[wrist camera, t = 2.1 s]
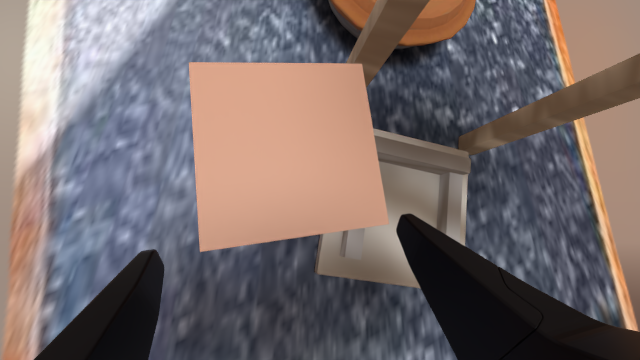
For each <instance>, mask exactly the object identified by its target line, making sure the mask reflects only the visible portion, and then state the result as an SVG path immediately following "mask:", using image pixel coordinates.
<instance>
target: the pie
mask: <svg viewBox="0 0 640 360" xmlns="http://www.w3.org/2000/svg"><path fill="white" fill-rule="evenodd" d="M328 1H329V4H330V7H331V9H332V12H333V13H334V14H335V16H336V17H337V19H338V20H339V22H340V23H341V25H342V26H343V27H344V28H346V29H347V30H348V31H349V32H350V33H351V34H352V35H354V36H355V37H356V38H359V36H360V34H361V32H362V30H363V28H364V26H365V24H366V22H367V19H368V17H369V15H370V13H371V11H372V9H373V7H374V5H375V3H376V1H377V0H328ZM475 1H476V0H430V1H429V2H428V3H427V5H426V6H425V8H424V9H423V10H422V12H421V13H420V14H419V16H418V17H417V19H416V20H415V21H414V23H413V24H412V25H411V27H410V28H409V30H408V31H407V32H406V34H405V35H404V36H403V38H402V39H401V41H400V42H399V43H398V45H397V46H396V47H395V49H404V48H409V47H414V46H422V45H427V44H431V43H435V42H439V41H443V40H447V39H450V38H452V37H453V36H454V35H455V34H456V33H457V32H458V31H459V30H460V29H461V28H463V27H464V26H465V25H466V23H467V21H468V19H469V17H470V15H471V13H472V11H473V9H474V6H475Z"/></svg>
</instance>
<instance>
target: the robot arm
mask: <svg viewBox="0 0 640 360" xmlns="http://www.w3.org/2000/svg"><path fill="white" fill-rule="evenodd" d="M396 233H397V236H398V238H399V241H400V243H401V246H402V248H403V251H404V254H405V256H406V259H407V261H408V264H409V266H410V268H411V270H412V272H413V274H414V276H415V278H416V280H417V282H418V284H419V286H420V288H421V290H422V292H423V293H424V295H425V297H426V299H427V301H428V303H429V305H430V307H431V309H432V311H433V313H434V315H435V317H436V319H437V320H438V322H439V324H440V326H441V328H442V330H443V332H444V334H445V336H446V338H447V340H448V342H449V344H450V346H451V347H452V349H453V351H454V353H455V355H456V357H457V359H458V360H640V332H638V331H633V330H628V329H623V328H619V327H615V326H611V325H608V324H605V323H602V322H600V321H597V320H595V319H593V318H590V317H588V316H586V315H584V314H583V313H581V312H579V311H577V310H575V309H573V308H571V307H569V306H568V305H566V304H564V303H562V302H560V301H558V300H556V299H555V298H553V297H551V296H549V295H547V294H545V293H543V292H541V291H540V290H538V289H536V288H534V287H532V286H531V285H529V284H527V283H525V282H524V281H522V280H520V279H518V278H517V277H515V276H513V275H512V274H510V273H508V272H507V271H505V270H503V269H502V268H500V267H498V266H497V265H495V264H493V263H492V262H490V261H489V260H487V259H485V258H484V257H482V256H480V255H479V254H477V253H475V252H474V251H472V250H471V249H469V248H467V247H466V246H464V245H462V244H461V243H459V242H457V241H456V240H454V239H452V238H451V237H449V236H448V235H446V234H444V233H443V232H441V231H439V230H438V229H436V228H434V227H433V226H431V225H430V224H428V223H426V222H425V221H423V220H421V219H420V218H418V217H416V216H415V215H413V214H411V213H408V214H402V215H401V216H400V218H399V221H398V224H397V228H396ZM163 277H164V264H163V262H162V260H161V258H160V256H159V254H158V252H157V251H156V250H154V249H153V250H145V251H141V252H140V253H139V254H138V255H137V256H136V257H135V258H134V259H133V260H132V261H131V262H130V263H129V264H128V265H127V266H126V267H125V268H124V269H123V270H122V271H121V272H120V273H119V274H118V275H117V276H116V277H115V278H114V279H113V280H112V281H111V282H110V283H109V284H108V285H107V286H106V287H105V288H104V289H103V290H102V291H101V292H100V293H99V294H98V295H97V296H96V297H95V298H94V299H93V300H92V301H91V302H90V303H89V304H88V305H87V306H86V307H85V308H84V309H83V310H82V311H81V312H80V313H79V314H78V315H77V316H76V317H75V318H74V319H73V320H72V321H71V322H70V324H69V325H68V326H67V327H66V328H65V329H64V330H63V331H62V332H61V333H60V334H59V335H58V336H57V337H56V338H55V339H54V340H53V341H52V342H51V343H50V344H49V345H48V346H47V347H46V348H45V349H44V350H43V351H42V352H41V353H40V354H39V355H38V356H37V357H36V358H35V359H34V360H148V357H149V353H150V349H151V345H152V341H153V337H154V333H155V329H156V325H157V321H158V316H159V309H160V301H161V293H162V285H163Z"/></svg>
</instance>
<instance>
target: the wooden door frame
mask: <svg viewBox="0 0 640 360" xmlns="http://www.w3.org/2000/svg"><path fill="white" fill-rule="evenodd" d="M429 1H430V0H377V1H376V3H375V5H374V7H373V9H372V11H371V13H370V15H369V17H368V19H367V22H366V24H365V26H364V28H363V30H362V32H361V34H360V36H359V38H358V40H357V42H356V44H355V46H354V48H353V50H352V52H351V54H350V56H349V58H348V60H347V62H346V64H362V67H363V73H364V79H365V85H366V87H367V86H368V85H369V83H370V82H371V81H372V79H373V78H374V76H375V75H376V74H377V72H378V71H379V70H380V68H381V67H382V65H383V64H384V63H385V61H386V60H387V59H388V57H389V56H390V54H391V53H392V52H393V50H394V49H395V47H396V46H397V45H398V43H399V42H400V41H401V39H402V38H403V36H404V35H405V34H406V32H407V31H408V30H409V28H410V27H411V25H412V24H413V23H414V21H415V20H416V19H417V17H418V16H419V14H420V13H421V12H422V10H423V9H424V8H425V6H426V5H427V3H428V2H429ZM638 98H640V54H638V55H635V56H633V57H631V58H629V59H627V60H625V61H622V62H620V63H618V64H616V65H614V66H612V67H610V68H607V69H605V70H603V71H601V72H599V73H596V74H594V75H592V76H590V77H588V78H586V79H583V80H581V81H579V82H577V83H575V84H573V85H570V86H568V87H566V88H564V89H562V90H560V91H557V92H555V93H553V94H551V95H549V96H547V97H544V98H542V99H540V100H538V101H536V102H534V103H531V104H529V105H527V106H525V107H523V108H520V109H518V110H516V111H514V112H512V113H510V114H507V115H505V116H503V117H501V118H499V119H497V120H494V121H492V122H490V123H488V124H486V125H484V126H481V127H479V128H477V129H475V130H473V131H471V132H468V133H466V134H464V135H462V136H460V137H459V146H458V149H455V148H451V147H447V146H443V145H439V144H434V143H430V142H426V141H422V140H418V139H414V138H410V137H406V136H402V135H398V134H394V133H390V132H386V131H382V130H378V129H374V128H373V132H374V138H375V144H376V150H377V155H378V161H379V167H380V173H381V179H382V185H383V191H384V197H385V203H386V208H387V214H388V220H389V224H386V225H380V226H373V227H366V228H359V229H352V230H346V231H339V232H332V233H325V234H320V239H319V246H318V252H317V258H316V265H315V271H314V272H315V273H317V274H321V275H328V276H336V277H343V278H350V279H357V280H365V281H372V282H379V283H386V284H394V285H401V286H408V287H416V288H420V286H419V284H418V282H417V280H416V278H415V276H414V274H413V272H412V270H411V268H410V266H409V264H408V261H407V259H406V256H405V254H404V251H403V248H402V246H401V243H400V241H399V238H398V236H397V233H396V228H397V224H398V221H399V218H400V216H401V215H402V214H408V213H411V214H413V215H415V216H416V217H418V218H420V219H421V220H423V221H425V222H426V223H428V224H430V225H431V226H433V227H434V228H436V229H438V230H439V231H441V232H443V233H444V234H446V235H448V236H449V237H451V238H452V239H454V240H456V241H457V242H459V243H461V244H462V245H464V246H465V230H466V205H467V180H468V174H469V173H470V168H471V159H470V158H468V156H469V155H474V154H477V153H480V152H483V151H486V150H489V149H492V148H495V147H498V146H501V145H504V144H506V143H509V142H512V141H515V140H518V139H521V138H524V137H527V136H530V135H533V134H536V133H539V132H542V131H544V130H547V129H550V128H553V127H556V126H559V125H562V124H565V123H568V122H571V121H574V120H577V119H580V118H582V117H585V116H588V115H591V114H594V113H597V112H600V111H603V110H606V109H609V108H612V107H614V106H618V105H620V104H623V103H626V102H629V101H632V100H635V99H638Z"/></svg>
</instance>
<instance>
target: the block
mask: <svg viewBox="0 0 640 360" xmlns="http://www.w3.org/2000/svg"><path fill="white" fill-rule="evenodd" d="M189 73H190V90H191V107H192V124H193V141H194V158H195V175H196V192H197V209H198V226H199V243H200V252H203V251H209V250H216V249H223V248H230V247H237V246H243V245H250V244H257V243H264V242H271V241H277V240H284V239H291V238H298V237H305V236H312V235H318V234H325V233H332V232H339V231H346V230H352V229H359V228H366V227H373V226H380V225H386V224H389V220H388V214H387V208H386V203H385V197H384V191H383V185H382V179H381V173H380V167H379V161H378V155H377V150H376V144H375V138H374V132H373V126H372V120H371V114H370V108H369V102H368V96H367V91H366V85H365V79H364V73H363V67H362V64H340V63H202V62H189Z"/></svg>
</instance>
